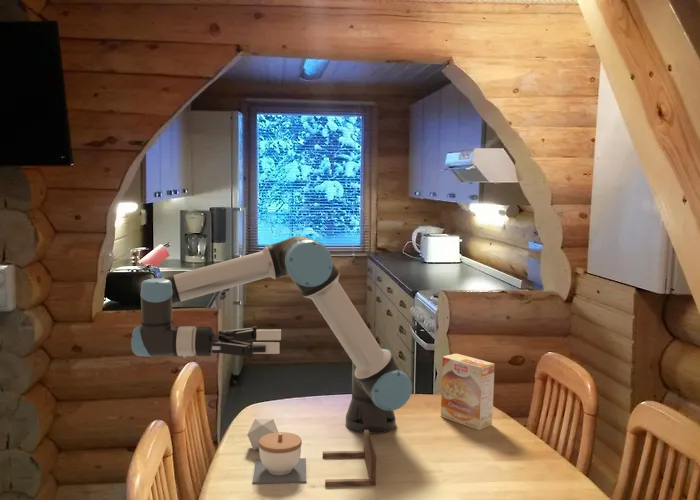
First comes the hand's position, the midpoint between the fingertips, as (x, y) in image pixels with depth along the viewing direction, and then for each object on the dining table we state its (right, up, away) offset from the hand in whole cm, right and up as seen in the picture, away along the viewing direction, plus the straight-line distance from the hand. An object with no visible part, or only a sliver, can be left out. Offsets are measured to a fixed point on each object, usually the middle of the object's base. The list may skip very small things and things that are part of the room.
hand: (280, 341), depth 163 cm
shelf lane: (+17, -33, -1) cm, 37 cm away
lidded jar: (0, -32, -3) cm, 32 cm away
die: (-6, -31, +11) cm, 34 cm away
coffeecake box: (+54, -30, +34) cm, 70 cm away
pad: (0, -32, -3) cm, 33 cm away
